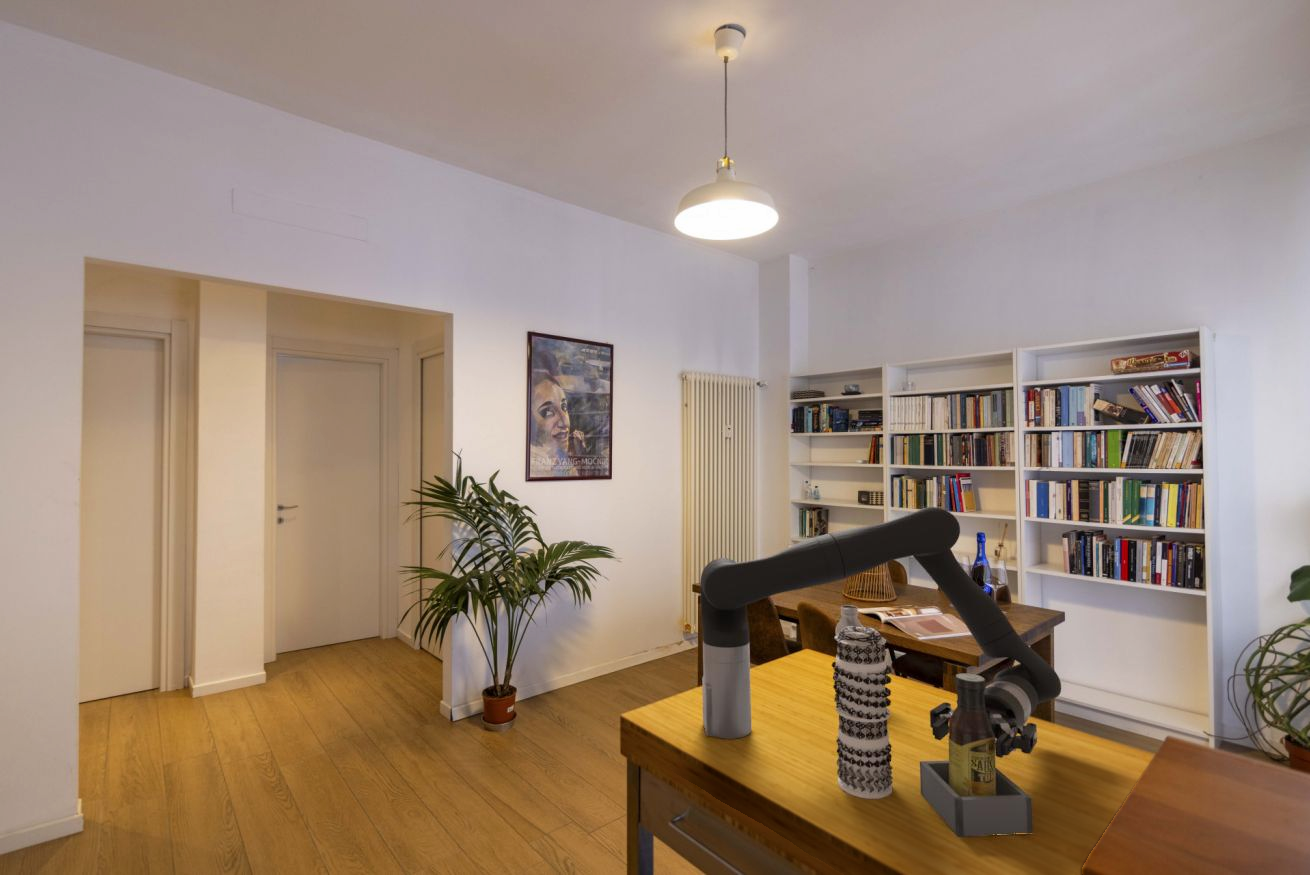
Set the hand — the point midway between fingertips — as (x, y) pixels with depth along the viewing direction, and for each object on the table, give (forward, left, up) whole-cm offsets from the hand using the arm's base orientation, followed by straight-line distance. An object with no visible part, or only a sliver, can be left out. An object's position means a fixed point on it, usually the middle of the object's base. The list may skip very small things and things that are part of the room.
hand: (966, 741), depth 93 cm
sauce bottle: (+1, +1, -11) cm, 11 cm away
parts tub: (+1, +1, -11) cm, 11 cm away
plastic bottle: (-1, +48, -11) cm, 50 cm away
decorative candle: (-12, +10, -11) cm, 19 cm away
